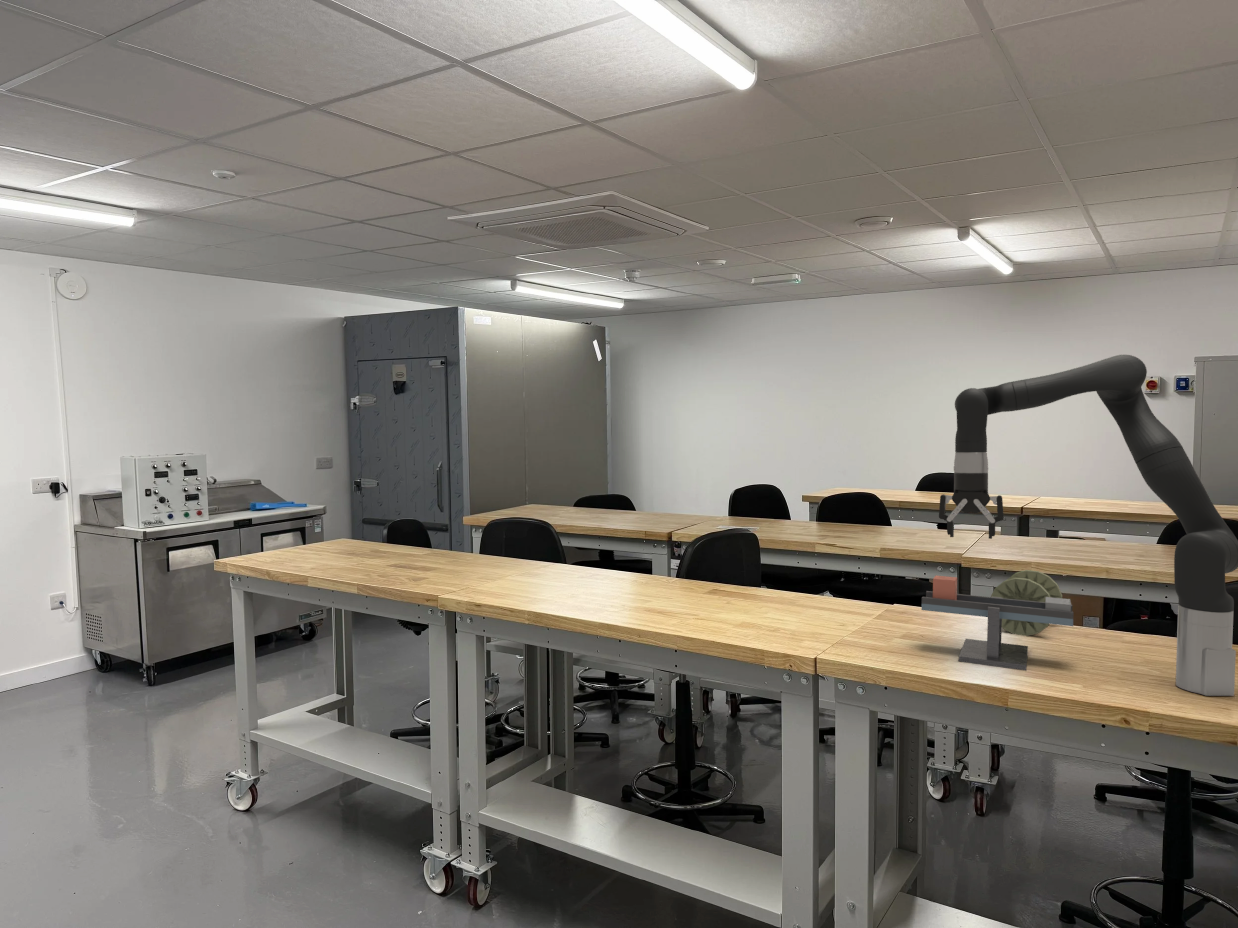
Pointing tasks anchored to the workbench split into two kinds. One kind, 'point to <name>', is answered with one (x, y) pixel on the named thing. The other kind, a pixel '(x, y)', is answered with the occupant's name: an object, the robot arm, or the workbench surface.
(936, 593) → the block
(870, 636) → the workbench surface
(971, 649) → the pivot stand
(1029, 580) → the spool
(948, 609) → the balance beam
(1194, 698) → the workbench surface
